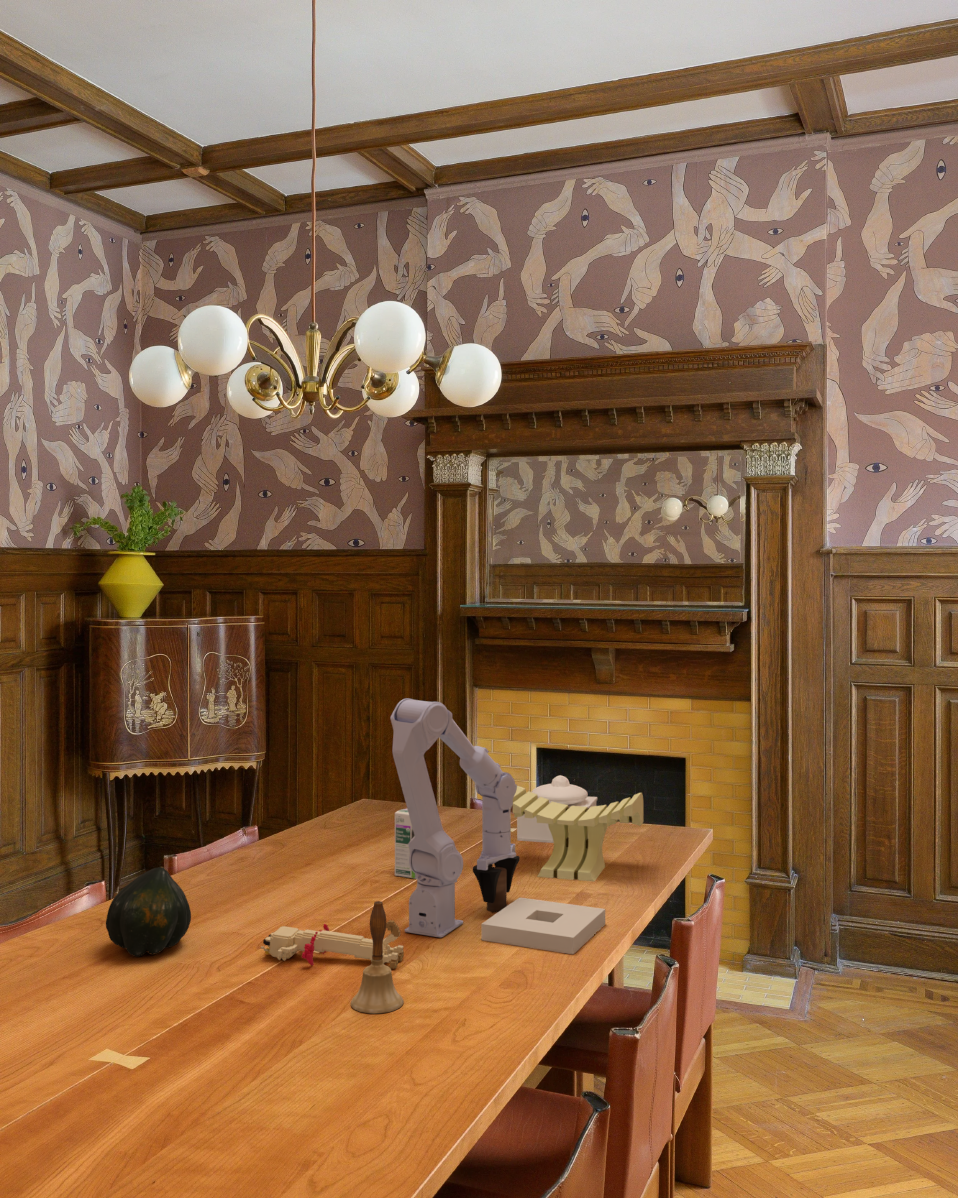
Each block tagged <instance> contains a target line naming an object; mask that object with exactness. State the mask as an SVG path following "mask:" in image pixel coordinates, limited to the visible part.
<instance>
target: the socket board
mask: <svg viewBox="0 0 958 1198" xmlns="http://www.w3.org/2000/svg"><path fill="white" fill-rule="evenodd" d="M605 925H606V909H605V908H602V907H601V908H600V907H593V906H586V905H578V904H572V903H564V902H558V901H548V900H541V899H536V898H535V899H533V898H525V897H518V898H517V899H515V900H513V902H511V903H509V904H507V906H506V907H505V908H504V909H502V910H501V911H499V912H495V914H493V915H492V916H491V917H489V918H488V919H486V920H485V921H484V922H482V923H481V934H480V935H481V941H483V942H484V941H485V942H490V943H498V944H505V945H511V946H516V947H524V948H528V949H529V948H530V949H536V950H542V951H549V952H556V953H563V954H566V955H568V954H569V955H575V954H576V953H577V952H578V951H579V950H580V949H581V948H582V947H583V946H584V945H586V943H587V942H589V941H590V940H591V939H592V938H593V937H594V934H595V935H596V934H597V933H598V932H599V931H600V930H602V928H603V927H604V926H605ZM601 927H602V928H601ZM597 931H598V932H597ZM596 932H597V933H596Z"/></svg>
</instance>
